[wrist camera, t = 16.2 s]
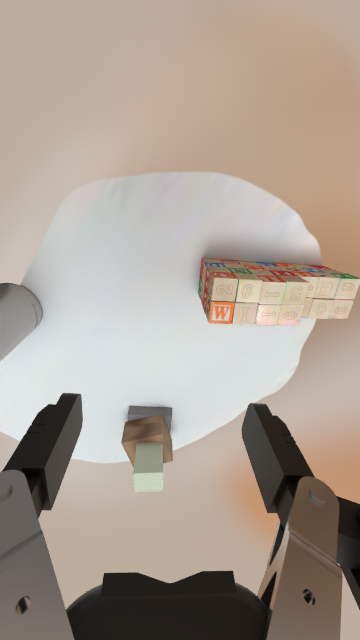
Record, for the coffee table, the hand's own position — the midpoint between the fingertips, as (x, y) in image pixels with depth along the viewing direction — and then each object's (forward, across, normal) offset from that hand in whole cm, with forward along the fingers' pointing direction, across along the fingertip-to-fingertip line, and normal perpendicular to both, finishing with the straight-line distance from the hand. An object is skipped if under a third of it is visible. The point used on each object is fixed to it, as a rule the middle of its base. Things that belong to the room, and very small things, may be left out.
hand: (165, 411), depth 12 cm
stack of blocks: (+32, -16, +1) cm, 36 cm away
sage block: (+25, 0, +35) cm, 43 cm away
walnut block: (+30, 0, +35) cm, 46 cm away
